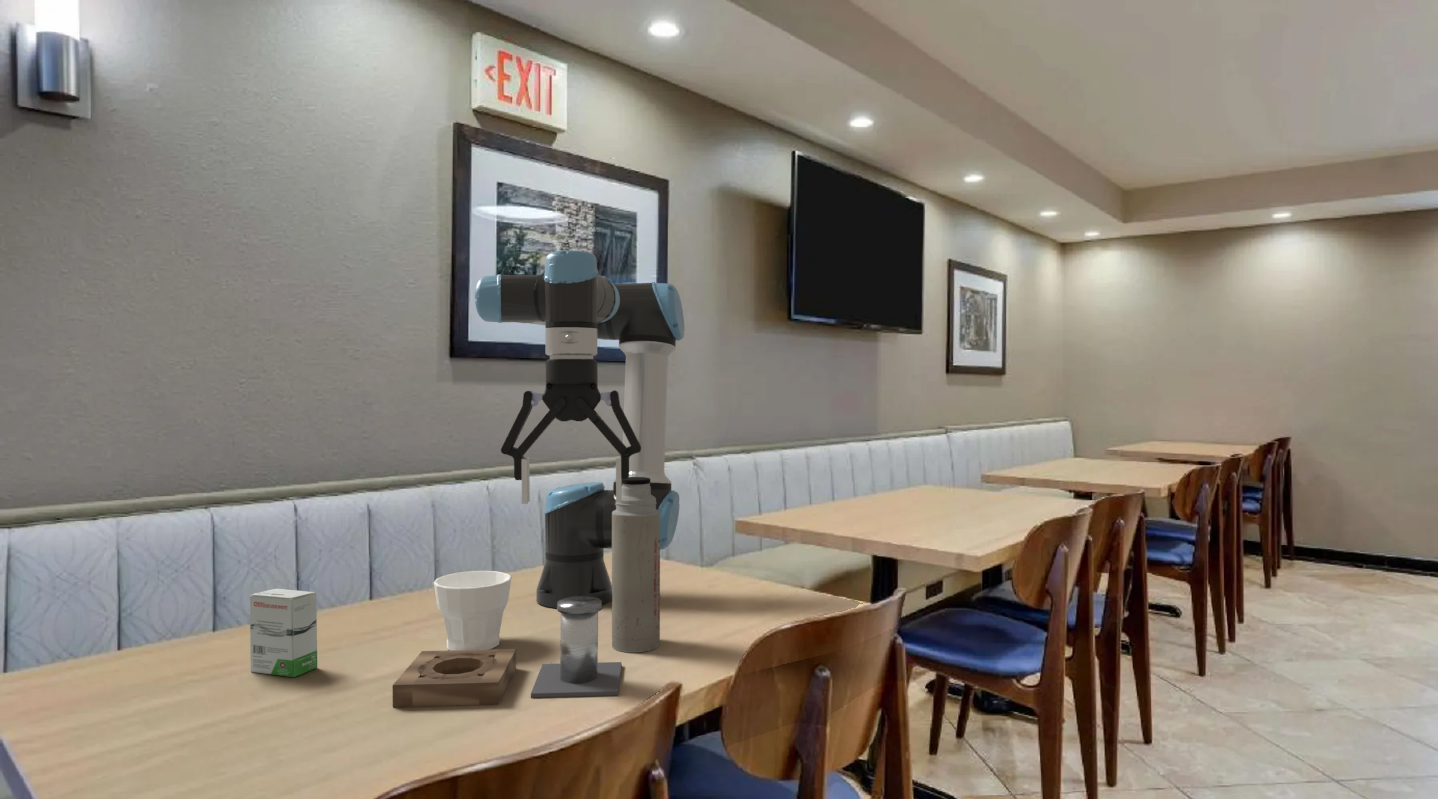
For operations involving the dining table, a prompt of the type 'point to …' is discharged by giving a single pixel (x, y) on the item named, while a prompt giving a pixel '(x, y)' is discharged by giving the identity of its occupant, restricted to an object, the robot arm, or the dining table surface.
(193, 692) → the dining table surface
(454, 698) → the block
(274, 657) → the ink box
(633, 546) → the thermos bottle
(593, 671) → the glass jar
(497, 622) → the cup
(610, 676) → the mat
